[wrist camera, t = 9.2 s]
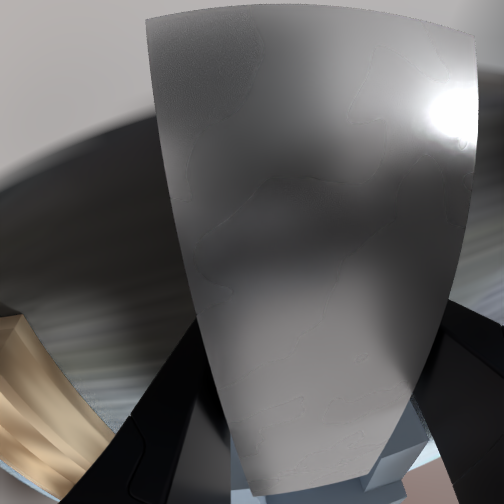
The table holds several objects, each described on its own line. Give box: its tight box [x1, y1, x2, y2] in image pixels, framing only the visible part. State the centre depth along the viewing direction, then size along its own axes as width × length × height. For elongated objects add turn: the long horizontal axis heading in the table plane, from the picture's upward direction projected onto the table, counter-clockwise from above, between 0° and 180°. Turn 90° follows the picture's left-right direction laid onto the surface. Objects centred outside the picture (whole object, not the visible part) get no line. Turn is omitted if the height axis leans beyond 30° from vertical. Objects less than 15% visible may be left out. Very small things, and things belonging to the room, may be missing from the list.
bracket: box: [231, 399, 429, 504], centre depth 13 cm, size 8×10×4 cm
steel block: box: [146, 4, 478, 497], centre depth 7 cm, size 12×4×4 cm, turn 5°
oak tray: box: [0, 314, 115, 500], centre depth 12 cm, size 17×9×3 cm, turn 9°
